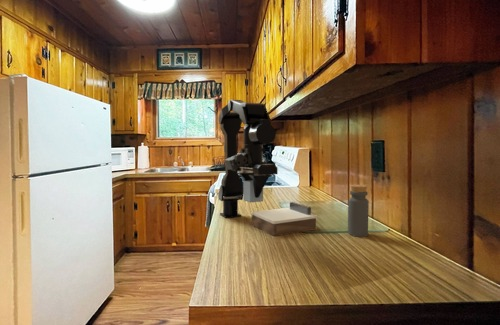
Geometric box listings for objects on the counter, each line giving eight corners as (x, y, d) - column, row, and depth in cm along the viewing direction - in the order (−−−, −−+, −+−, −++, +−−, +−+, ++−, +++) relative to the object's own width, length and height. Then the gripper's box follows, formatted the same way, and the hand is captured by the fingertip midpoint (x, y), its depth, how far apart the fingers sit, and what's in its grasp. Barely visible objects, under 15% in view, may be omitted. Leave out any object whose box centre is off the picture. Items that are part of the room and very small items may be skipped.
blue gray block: (243, 200, 92) (243, 180, 91) (256, 199, 94) (256, 180, 93) (250, 202, 88) (250, 182, 88) (263, 201, 90) (263, 181, 90)
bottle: (364, 231, 94) (365, 184, 94) (370, 237, 89) (371, 187, 88) (345, 231, 95) (346, 184, 94) (350, 236, 89) (351, 186, 88)
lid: (251, 214, 102) (251, 204, 102) (290, 209, 109) (291, 200, 109) (273, 224, 89) (273, 213, 89) (316, 218, 97) (317, 208, 96)
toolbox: (252, 225, 102) (252, 214, 102) (290, 219, 109) (290, 210, 109) (274, 236, 90) (274, 224, 89) (315, 229, 97) (316, 218, 97)
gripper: (216, 145, 95) (217, 194, 95) (242, 144, 78) (242, 203, 79) (248, 145, 100) (248, 191, 100) (278, 144, 83) (278, 200, 84)
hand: (253, 196), depth 91 cm, fingers closed on blue gray block, 4 cm apart
